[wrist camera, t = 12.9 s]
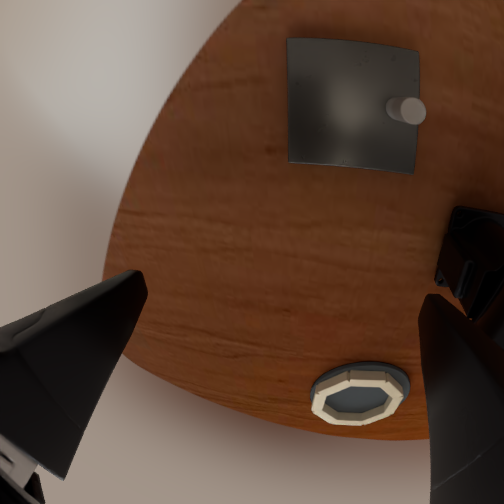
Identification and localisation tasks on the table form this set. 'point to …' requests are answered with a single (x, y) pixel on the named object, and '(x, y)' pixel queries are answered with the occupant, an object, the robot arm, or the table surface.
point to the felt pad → (362, 388)
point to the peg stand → (353, 104)
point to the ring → (357, 380)
